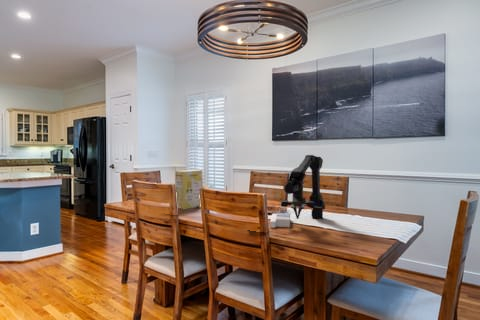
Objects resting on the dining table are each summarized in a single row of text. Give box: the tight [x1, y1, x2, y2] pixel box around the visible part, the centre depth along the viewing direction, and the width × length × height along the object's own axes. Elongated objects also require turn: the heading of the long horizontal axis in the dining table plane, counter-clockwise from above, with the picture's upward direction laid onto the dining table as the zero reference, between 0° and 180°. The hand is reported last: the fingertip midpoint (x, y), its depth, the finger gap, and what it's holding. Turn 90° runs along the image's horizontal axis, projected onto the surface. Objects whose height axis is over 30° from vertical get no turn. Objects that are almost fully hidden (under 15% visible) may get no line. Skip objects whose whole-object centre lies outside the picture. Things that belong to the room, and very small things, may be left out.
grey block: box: [275, 216, 291, 228], centre depth 185 cm, size 8×8×4 cm
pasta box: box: [174, 169, 203, 210], centre depth 243 cm, size 18×10×28 cm, turn 138°
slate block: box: [276, 212, 291, 218], centre depth 194 cm, size 8×8×4 cm
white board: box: [269, 213, 277, 228], centre depth 189 cm, size 3×22×4 cm, turn 170°
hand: (297, 218), depth 181 cm, fingers closed
